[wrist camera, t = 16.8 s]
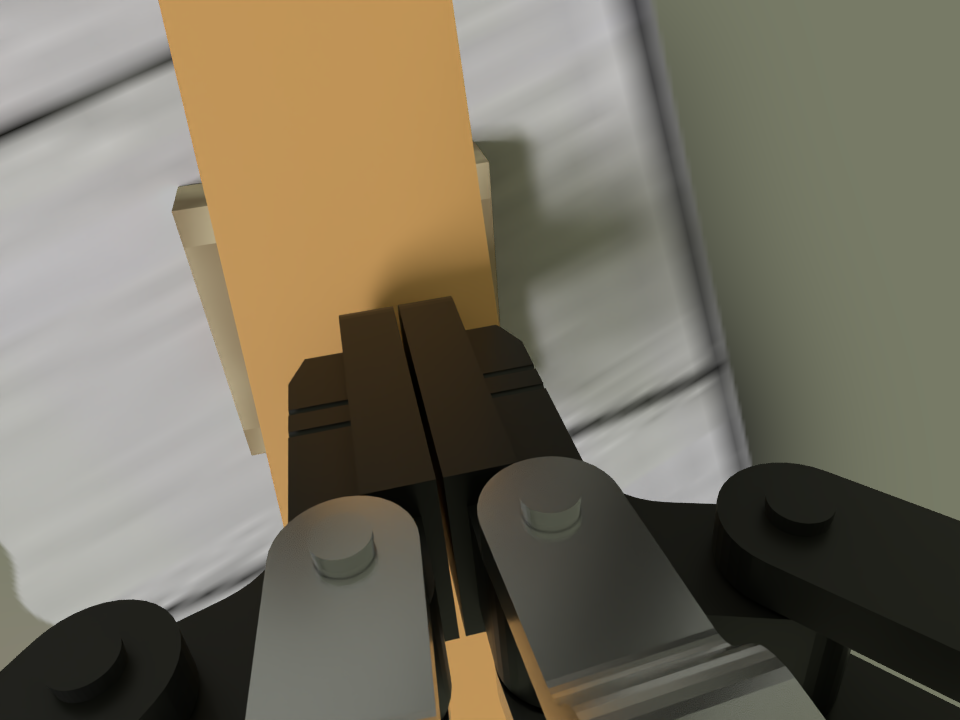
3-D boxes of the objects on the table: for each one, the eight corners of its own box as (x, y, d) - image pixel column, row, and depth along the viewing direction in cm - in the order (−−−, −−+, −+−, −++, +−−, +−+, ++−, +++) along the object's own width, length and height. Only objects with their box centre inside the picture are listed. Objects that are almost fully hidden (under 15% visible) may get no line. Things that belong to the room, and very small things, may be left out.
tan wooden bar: (441, 1189, 16) (456, 1312, 14) (84, -309, 9) (27, -424, 7) (613, 1127, 16) (647, 1238, 15) (401, -326, 10) (417, -436, 8)
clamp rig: (264, 460, 38) (264, 910, 22) (17, -322, 21) (-771, -869, 5) (495, 412, 40) (653, 795, 24) (436, -344, 23) (843, -800, 7)
